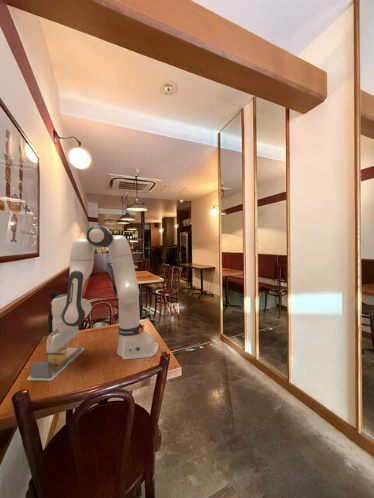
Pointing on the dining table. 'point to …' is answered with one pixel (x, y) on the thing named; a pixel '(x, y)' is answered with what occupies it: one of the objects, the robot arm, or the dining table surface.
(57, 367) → the track
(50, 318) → the wine bottle
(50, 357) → the block
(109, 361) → the dining table surface
